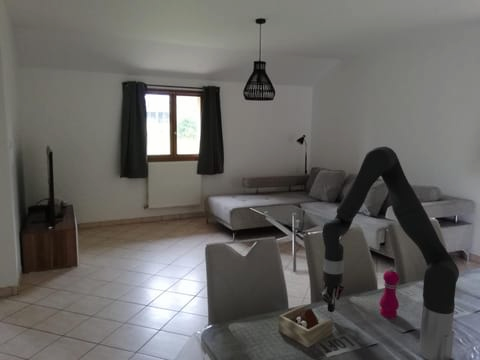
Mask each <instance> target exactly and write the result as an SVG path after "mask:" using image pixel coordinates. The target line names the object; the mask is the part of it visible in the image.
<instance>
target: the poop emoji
mask: <svg viewBox="0 0 480 360" xmlns="http://www.w3.org/2000/svg"><path fill="white" fill-rule="evenodd" d="M296 323H297V324H299V325H301V326H303V327H305V328H306V329H310V328H312V327H314V326H316V325H317V324H319V320H318V318H317V315H316V314H315V311H313V309H312V308H306V309H305V312H304V313H303V314H302V315H301V316H300V317H297V319H296Z"/></svg>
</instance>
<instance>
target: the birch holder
mask: <svg viewBox="0 0 480 360" xmlns="http://www.w3.org/2000/svg"><path fill="white" fill-rule="evenodd" d="M305 310H306V305H305V304H302V305H299V306H297V307H295V308H293V309H290V310H288V311H286V312H285V313H281V314H279V316H278V331H279V332H280V333H281V334H283V335H285V336H287V337H289V338H290V339H292V340H294V341H296V342H298V343H299V344H300V345H303V346H304V347H306V348H310V347H312V346H313V345H315V344H317V343H318V342H320V341H322V340H323V339H326V338H327V337H329V336H330V335H332V334H333V328H334V327H333V326H334V318H333V317H328V318H327V319H325V320H323V321H321V322H320V323H319V324H317V325H316V326H314V327H312V328H310V329H306V328H305V327H303V326H301V325H299V324H297V323H296V319H297V317H300V316H301V315H302V314H303V313H304V312H305Z"/></svg>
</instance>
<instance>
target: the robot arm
mask: <svg viewBox="0 0 480 360" xmlns="http://www.w3.org/2000/svg"><path fill="white" fill-rule="evenodd" d="M401 164H402V163H400V159H399V158H398V155H397V153H396V152H395V151H394V150H393V149H392V148H391V147H388V146H378V147H375V148H371V149H370V150H369V151H368V152H367V153H365V156H364V159H363V161H362V163H361V166H360V168H359V171H358V173H357V175H356V176H355V179H354V181H353V182H352V184H351V186H350V188H349V189H348V191H347V193H345V195H344V197H343V199H342V200H341V202H340V203H339V205H337V206H338V207H337V209H336V215H335V217H334V218H333V219H331V220H329V221H326V222H325V223H324V225H323V226H322V234H321V235H322V240H323V244H324V259H323V270H322V271H323V272H322V281H323V282H324V286H323V288H324V289H323V291H320V292H319V296H320V297H321V298H322V300H323V302H325V303H327V311H328V312H329V313H334V312H335V309H336V303H337V301H338V300H340V297H341V295H342V292H343V290H344V288H345V286H344V285H342V283H343V279H344V278H343V277H344V250H345V249H344V246H343V244H342V243H340V238H341V237H343V236H344V235H346V234H347V233H348V231H349V230H350V227H351V226H352V223H353V221H354V219H355V217H356V215H357V214H359V212H360V210H361V209H362V207H363V205H364V203H365V201H366V199H367V197H368V193H369V192H370V191H371V188H373V185H374V184H375V183H376V181H378V179H380V178H382V181H383V182H384V183H385V185H386V189H387V191H388V193H389V200H390V203H391V204H390V205H391V208H392V212H393V214H394V217H395V218H396V220H397V223H398V224H399V226H400V227H401V229H402V230H403V232H404V233H405V234H406V236H407V237H408V238H409V239H410V240H411V241H412V242H413V243H414V244H415V245H416V246H417V249H419V251H420V252H421V254H422V256H423V259H424V260H425V263H426V265H427V268H426V269H425V271H424V275H423V287H422V299H423V302H422V312H421V313H422V314H421V321H420V322H421V325H420V332H419V333H420V334H419V344H418V353H419V355H420V356H421V357H422V358H424V359H426V360H451V358H452V354H453V346H454V337H455V331H454V330H453V327H454V326H453V323H454V315H455V307H456V304H455V297H456V289H457V287H456V286H457V282H458V280H459V278H460V271H459V267H458V266H457V264H456V262H455V261H454V260H453V258H452V257H451V255H450V254H449V252H448V251H447V249H446V248H445V246H444V245H443V243H442V242H441V240H440V238H439V235H438V234H437V231H436V229H435V227H434V225H433V223H432V221H431V219H430V218H429V215H428V213H427V211H426V210H425V208H424V206H423V204H422V203H421V201H420V199H419V197H418V195H417V194H416V192H415V191H414V189H413V187H412V185H411V183H410V182H409V181H408V179H407V176H406V174H405V172H404V170H403V168H402V165H401Z"/></svg>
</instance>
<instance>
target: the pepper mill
mask: <svg viewBox="0 0 480 360" xmlns="http://www.w3.org/2000/svg"><path fill="white" fill-rule="evenodd" d="M382 279H383V281H384V282H383V286H384V287H385V288H384V293H383V294H382V295H381V298H380V300H379V306H380V311H379V313H380V315H381V316H382V317H384V318H386V319H387V318H388V319H394V318H395V319H396V317H397V316H398V315H397V314H398V312H397V310H399V306H400V304H399V300H398V297H397V294H396V291H397V288H398V283H399V281H400V274H399V273H398V272H396V271H395V268H394V267H389V270H387V271H385V272H384V274H383V278H382Z"/></svg>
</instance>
